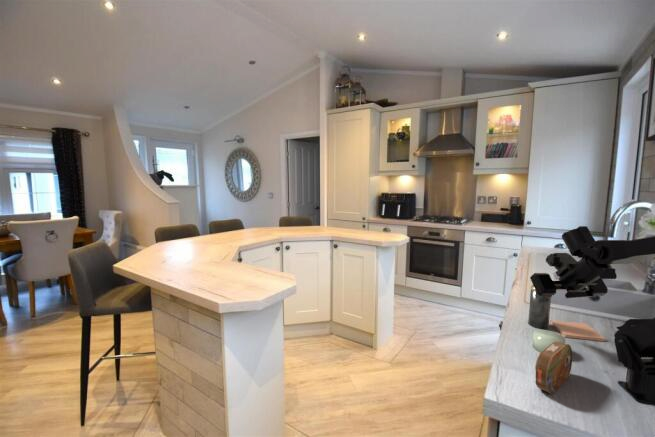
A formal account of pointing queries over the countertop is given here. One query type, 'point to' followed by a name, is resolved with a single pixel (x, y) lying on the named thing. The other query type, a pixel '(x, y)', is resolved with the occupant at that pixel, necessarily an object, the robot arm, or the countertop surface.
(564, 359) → the tin
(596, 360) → the countertop surface
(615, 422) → the countertop surface
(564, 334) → the plate
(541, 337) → the pale green rounded piece
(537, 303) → the canister
